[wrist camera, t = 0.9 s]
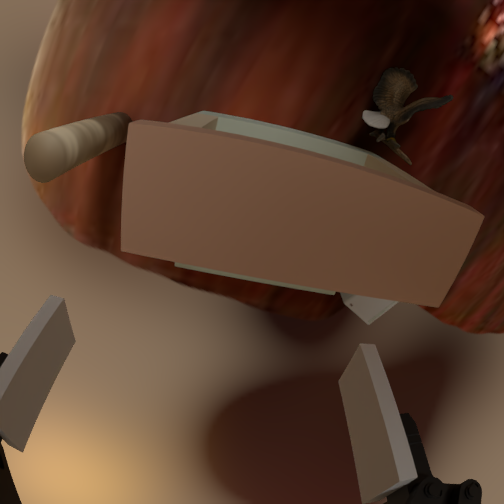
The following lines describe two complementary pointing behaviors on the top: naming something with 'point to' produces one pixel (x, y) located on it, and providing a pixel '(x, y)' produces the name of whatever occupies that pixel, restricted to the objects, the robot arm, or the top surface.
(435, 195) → the beige arch frame
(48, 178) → the peg
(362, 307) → the small box
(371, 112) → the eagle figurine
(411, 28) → the top surface
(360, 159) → the socket board
